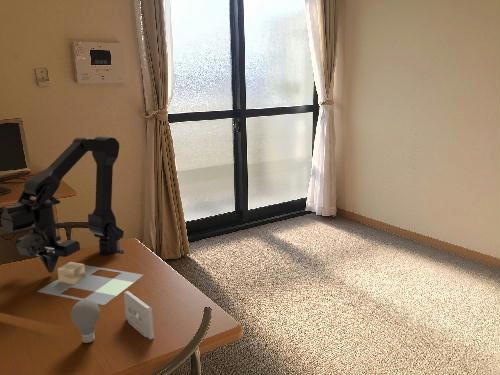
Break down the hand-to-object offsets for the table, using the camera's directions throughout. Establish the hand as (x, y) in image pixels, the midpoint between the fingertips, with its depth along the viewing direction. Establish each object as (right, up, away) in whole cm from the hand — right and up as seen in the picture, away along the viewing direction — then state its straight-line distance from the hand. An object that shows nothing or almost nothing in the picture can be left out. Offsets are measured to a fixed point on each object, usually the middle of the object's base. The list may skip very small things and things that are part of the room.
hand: (51, 272), depth 123 cm
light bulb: (+22, -10, -28) cm, 37 cm away
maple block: (+7, -2, -2) cm, 8 cm away
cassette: (+32, -9, -24) cm, 41 cm away
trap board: (+14, -4, -4) cm, 15 cm away
